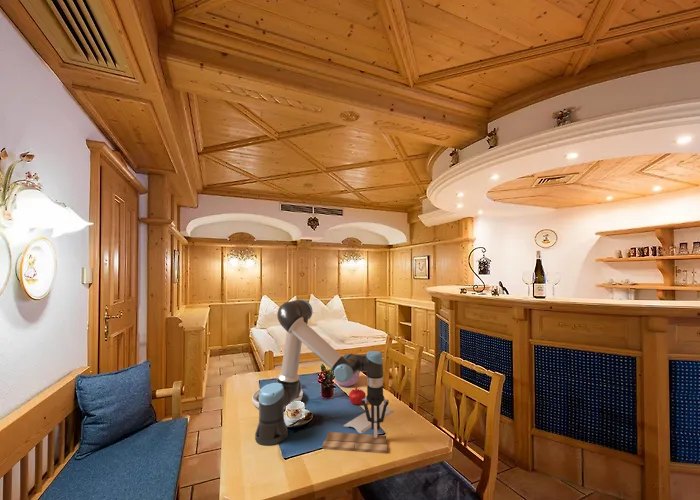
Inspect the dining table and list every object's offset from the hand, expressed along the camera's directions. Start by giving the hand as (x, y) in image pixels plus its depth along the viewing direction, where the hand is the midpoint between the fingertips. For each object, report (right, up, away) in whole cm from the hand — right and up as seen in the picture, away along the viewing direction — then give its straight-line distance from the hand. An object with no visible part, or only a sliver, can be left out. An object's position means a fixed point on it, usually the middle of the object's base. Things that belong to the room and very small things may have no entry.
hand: (375, 436), depth 148 cm
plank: (-9, -2, 0) cm, 9 cm away
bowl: (-56, -5, +43) cm, 70 cm away
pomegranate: (-8, -4, +40) cm, 41 cm away
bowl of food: (-15, -5, +69) cm, 71 cm away
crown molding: (-2, -4, +21) cm, 21 cm away
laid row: (-10, -2, -6) cm, 12 cm away
